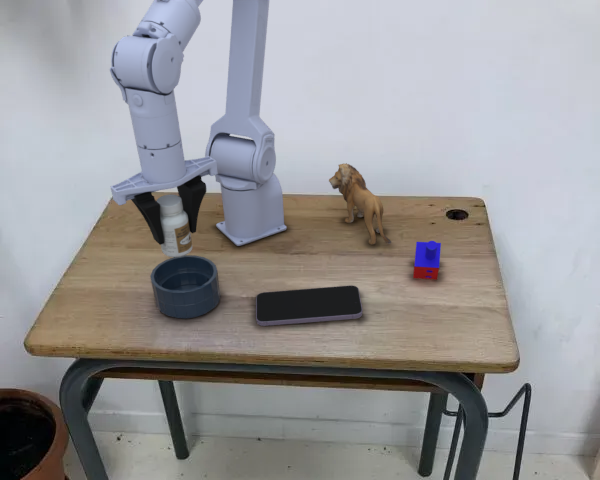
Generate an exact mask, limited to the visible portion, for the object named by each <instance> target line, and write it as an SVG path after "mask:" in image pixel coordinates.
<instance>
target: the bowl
mask: <svg viewBox="0 0 600 480" xmlns="http://www.w3.org/2000/svg"><path fill="white" fill-rule="evenodd" d="M149 277H150V283H151V287H152V291H153V297H154V301H155V305H156V308H157V309H158V310H159V311H160V313H162V314H163V315H166V316H168V317H172V318H174V319H175V318H176V319H193V318H197V317H201V316H203V315H205V314H208V312H211V311H212V310H214V309H215V308H216V307H217V306H218V304H219V303H220V301H221V296H222V295H221V288H220V280H219V273H218V269H217V265H216V263H214V262H213V261H212V260H211V259H209V258H206V257H205V256H200V255H195V254H194V255H193V254H190V255H189V254H187V255H184V256H181V257H169V258H167V259H165V260H163V261H162V262H160V263H158V264H157V265H156V266H155V267H154V268H153V269H152V271H151V273H150V276H149Z"/></svg>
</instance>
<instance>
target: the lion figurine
mask: <svg viewBox="0 0 600 480" xmlns="http://www.w3.org/2000/svg"><path fill="white" fill-rule="evenodd" d="M328 182H329V184H330V185H331V187H332V189H333V190H336V189H338V193H340V194H341V195H342V197H343V200H344V201H345V202H346V210H347V211H346V212H347V214H348V217H346V218H345V219H344V222H345V223H347V224H351V223H353V222H354V220H355V215H354V208H355V207H356V209H357V210H358V211H357V213H356V217H357V218H363V219H364V223H365V226H366V228H367V231H368V233H369V236H370V238H369V239H368V245H370V246H372V245H376V243H377V236H376V233H378V234H380V236H381V238H382V239H383V241H384V243H386V244H388V245H390V244H392V240H391V239H389V237H387V236H386V234H384V229H383V228H384V226H383V218H384V217H383V215H384V204H383V203H382V200H381V198H380V197H379V196H378V195H375V194H373V192H371V191H370V190H369V189H368V187H367V183H366V180H365V179H364V177H363V174H361V173H360V171H359V170H358V169H357V168H356V167H354V166H353V165H351V164H349V163H347V162H346V163H340V164H338V168H337V171H335V172H334V175H333V176H332V177H330V178H329V179H328ZM374 217H375V218H376V222H377V227H376V228H375V230H374V225H373V224H374V223H373V221H374Z"/></svg>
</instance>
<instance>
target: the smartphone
mask: <svg viewBox="0 0 600 480" xmlns="http://www.w3.org/2000/svg"><path fill="white" fill-rule="evenodd" d="M361 299H362V298H361V293H360V289H359V287H358V286H356V285H353V284H351V285H339V286H326V287H313V288H300V289H290V290H287V289H286V290H277V291H276V290H275V291H274V290H273V291H264V292H260V293H257V295H256V296H255V320H256V324H257V325H259V326H261V327H267V326H269V327H270V326H279V325H281V326H282V325H294V324H304V323H306V324H307V323H317V322H319V323H320V322H330V321H331V322H332V321H343V320H355V319H360V318H361V317H362V316H363V304H362V300H361Z"/></svg>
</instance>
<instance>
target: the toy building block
mask: <svg viewBox="0 0 600 480" xmlns="http://www.w3.org/2000/svg"><path fill="white" fill-rule="evenodd" d="M441 249H442V243H441V242H436V241H435V240H429V241H416V243H415V252H414V260H413V261H414V265H413V276H412V279H419V280H421V279H422V280H436V281H437V280H438V277H439V271H440V265H441V264H440V262H441Z"/></svg>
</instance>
